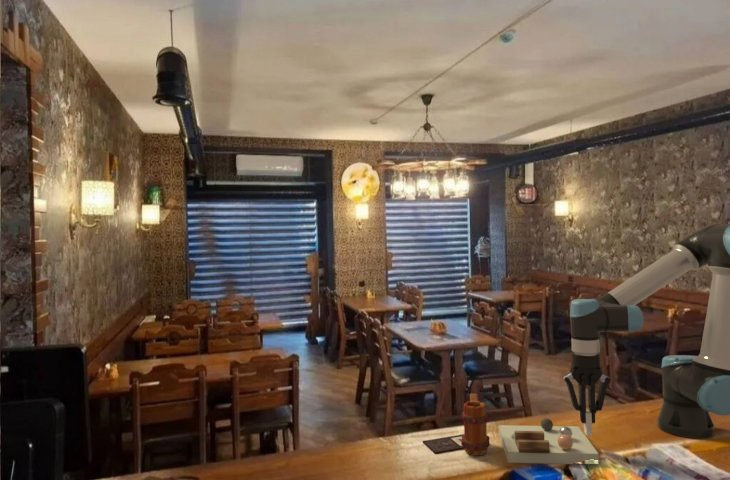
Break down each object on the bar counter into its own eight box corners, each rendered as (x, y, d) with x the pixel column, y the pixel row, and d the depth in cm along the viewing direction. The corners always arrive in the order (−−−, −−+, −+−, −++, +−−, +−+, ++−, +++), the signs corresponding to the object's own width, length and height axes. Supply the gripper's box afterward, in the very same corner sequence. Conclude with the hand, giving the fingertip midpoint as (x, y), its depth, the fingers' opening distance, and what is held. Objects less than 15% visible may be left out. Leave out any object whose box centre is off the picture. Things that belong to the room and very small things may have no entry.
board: (578, 436, 158) (578, 426, 158) (599, 464, 138) (598, 453, 138) (498, 434, 161) (498, 425, 161) (507, 462, 141) (507, 451, 141)
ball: (570, 436, 150) (570, 424, 150) (573, 441, 147) (573, 429, 147) (558, 436, 151) (558, 424, 151) (561, 441, 147) (560, 428, 147)
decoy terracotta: (571, 446, 143) (570, 432, 143) (574, 452, 139) (574, 437, 139) (556, 446, 144) (555, 432, 144) (559, 452, 140) (559, 437, 140)
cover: (543, 441, 147) (543, 431, 147) (549, 453, 139) (549, 442, 139) (514, 441, 148) (514, 430, 148) (519, 452, 140) (518, 441, 140)
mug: (491, 460, 143) (489, 406, 143) (461, 458, 145) (459, 405, 145) (489, 439, 158) (487, 391, 158) (462, 438, 159) (460, 390, 159)
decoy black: (551, 428, 157) (551, 416, 157) (554, 432, 154) (553, 420, 154) (539, 427, 158) (539, 416, 158) (542, 432, 154) (541, 420, 154)
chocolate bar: (422, 440, 157) (474, 432, 163) (422, 444, 157) (474, 435, 163) (435, 452, 149) (489, 442, 154) (435, 455, 149) (489, 446, 154)
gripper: (605, 349, 151) (607, 429, 151) (559, 350, 153) (561, 428, 153) (613, 355, 143) (616, 439, 143) (565, 355, 145) (568, 438, 145)
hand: (588, 434), depth 148 cm, fingers closed
